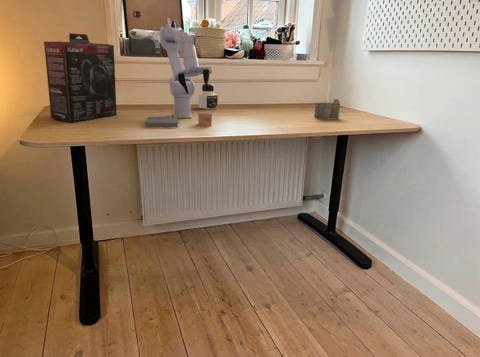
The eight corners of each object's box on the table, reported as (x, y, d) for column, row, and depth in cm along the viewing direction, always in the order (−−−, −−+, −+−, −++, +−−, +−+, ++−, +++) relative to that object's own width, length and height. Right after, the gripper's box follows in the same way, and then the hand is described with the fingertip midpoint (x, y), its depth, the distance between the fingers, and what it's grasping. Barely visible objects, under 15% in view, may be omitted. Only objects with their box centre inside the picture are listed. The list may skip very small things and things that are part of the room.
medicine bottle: (206, 109, 194) (207, 85, 190) (198, 107, 198) (198, 83, 194) (217, 108, 198) (218, 84, 194) (209, 106, 203) (209, 83, 199)
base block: (148, 122, 159) (148, 116, 158) (177, 123, 161) (177, 117, 160) (145, 128, 148) (145, 122, 147) (177, 129, 150) (177, 122, 149)
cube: (198, 124, 159) (198, 111, 157) (210, 124, 159) (210, 112, 158) (198, 126, 154) (199, 114, 152) (211, 126, 155) (211, 114, 153)
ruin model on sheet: (335, 118, 187) (338, 98, 184) (338, 119, 184) (340, 99, 181) (313, 118, 184) (315, 98, 181) (316, 119, 182) (318, 99, 178)
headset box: (98, 112, 175) (92, 34, 164) (119, 115, 169) (114, 35, 158) (50, 119, 154) (39, 31, 143) (72, 123, 149) (62, 32, 138)
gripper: (171, 57, 148) (177, 88, 144) (208, 52, 150) (215, 82, 146) (173, 68, 155) (179, 97, 151) (208, 63, 157) (215, 92, 153)
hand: (197, 90), depth 149 cm, fingers open, 7 cm apart
